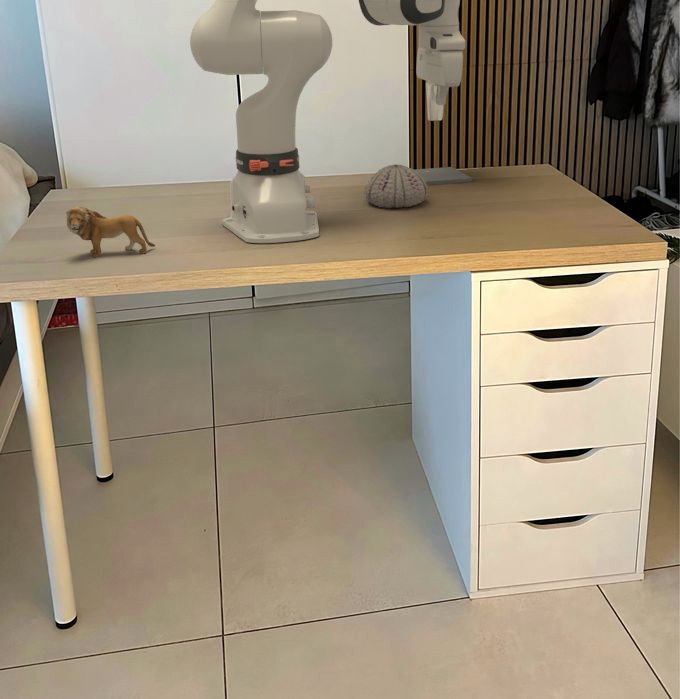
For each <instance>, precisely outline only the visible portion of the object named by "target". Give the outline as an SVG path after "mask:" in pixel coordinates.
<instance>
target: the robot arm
mask: <svg viewBox="0 0 680 699" xmlns="http://www.w3.org/2000/svg"><path fill="white" fill-rule="evenodd" d="M257 2H258V0H215V1H214V3H213V4H212V6H211V7H209V9H208V10H207V11H206V12H205V13H204V14H202V15H201V16H200V17H199V18H198V19H197V20H196V22H195V24H194V25H193V28H192V30H191V32H190V39H189V40H190V41H189V42H190V43H189V44H190V50H191V54H192V57H193V59H194V61H195V62H196V64H197V65H198V67H200V68H201V69H202V70H203V71H204V72H208V73H209V72H210V73H214V74H219V75H226V76H234V75H236V76H237V75H238V76H239V75H240V76H241V75H242V76H243V75H265V76H266V77H267V78H268V80H267V83H266V85H265V86H264V87H263V88H262V89H260V90H258V91H257V92H255V93H253V94H251V95H249V96H248V97H246V98H245V99H243V100H242V101H241V102H240V104H238V106H237V109H236V112H235V124H236V138H237V141H236V142H237V149H236V150H235V163H236V165H235V166H236V169H237V172H236V175H235V176H234V177H233V178H232V179H231V180H230V182H229V195H230V196H229V198H230V200H229V201H230V203H229V204H230V216H229V217H227V216H226V217H225V218H223V219H222V225H223V226H224V227H225V228H226V229H228V230H229V231H230V232H231V233H232V234H235V235H236V236H237V237H239V238H240V239H241V240H242V241H243V242H246V243H252V244H273V243H274V244H275V243H276V244H277V243H287V242H288V243H289V242H296V241H297V242H298V241H304V240H309V239H310V240H311V239H314V238H317V237H319V236H320V228H319V219H318V214H317V213H318V212H316V211H313V210H308V209H314V208H315V206H316V202H315V201H316V200H315V196H314V195H306V194H310V193H311V187H310V185H306V176H305V175H304V174H303V173H302V172H301V171H300V170H299V169H300V155H299V150H298V148H297V144H296V123H297V122H296V119H297V118H296V117H297V108H298V107H297V106H298V103H299V100H300V97H301V94H302V92H303V90H304V87H305V86H307V83H308V82H309V81H310V79H311V78H312V77H313V76H314V75H315V74H316V73H317V72H318V71H320V70H321V69H323V67H324V66H325V65H326V64H327V62H328V60H329V59H330V56H331V54H332V49H333V35H332V31H331V28H330V26H329V25H328V24H329V23H327V21H326V20H325V19H324V18H323V16H321V15H320V14H319V13H312V12H309V11H303V10H294V9H293V10H258V9H256V3H257ZM460 2H461V0H358V3H359V7H360V11H361V13H362V16H363V17H364V18H365V20H366V21H367V22H368V23H370V24H372V25H373V26H379V27H380V26H390V25H391V26H392V25H393V26H395V25H396V26H405V25H406V26H417V25H418V38H417V39H418V42H417V44H418V45H417V46H418V47H417V55H416V68H415V69H416V70H415V71H416V72H415V73H416V77H417V79H420V80H424V81H426V82H427V81H428V80H431V81H432V82H433V83H435V84H438V96H437V97H436V104H438V105H444V106H445V105H446V103H447V101H446V100H447V97H448V92H449V88H454V87H456V88H457V87H459V86H460V84H461V82H462V77H463V64H464V63H463V62H464V54H463V50H465V49H466V40H465V38H464V37H463V35H461V31H460V22H459V17H458V13H459V8H460V4H461V3H460ZM426 82H425V83H426Z"/></svg>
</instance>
